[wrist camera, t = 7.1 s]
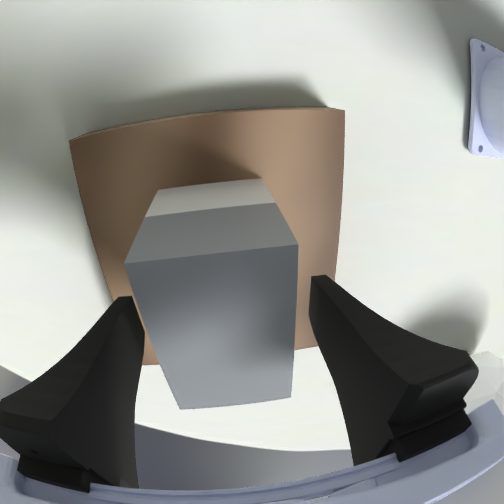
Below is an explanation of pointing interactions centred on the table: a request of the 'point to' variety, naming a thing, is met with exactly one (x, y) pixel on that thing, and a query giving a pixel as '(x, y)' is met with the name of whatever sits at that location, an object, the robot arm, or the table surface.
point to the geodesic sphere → (487, 382)
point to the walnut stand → (217, 170)
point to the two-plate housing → (218, 292)
